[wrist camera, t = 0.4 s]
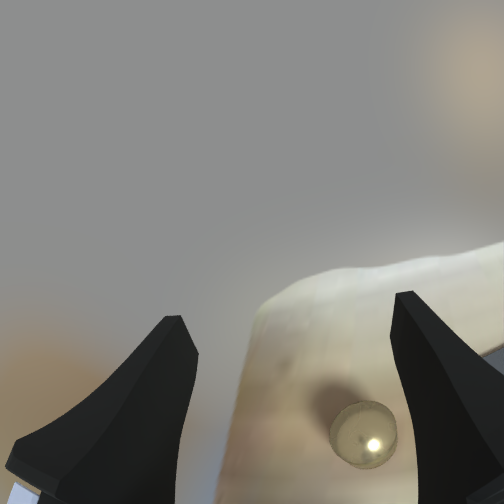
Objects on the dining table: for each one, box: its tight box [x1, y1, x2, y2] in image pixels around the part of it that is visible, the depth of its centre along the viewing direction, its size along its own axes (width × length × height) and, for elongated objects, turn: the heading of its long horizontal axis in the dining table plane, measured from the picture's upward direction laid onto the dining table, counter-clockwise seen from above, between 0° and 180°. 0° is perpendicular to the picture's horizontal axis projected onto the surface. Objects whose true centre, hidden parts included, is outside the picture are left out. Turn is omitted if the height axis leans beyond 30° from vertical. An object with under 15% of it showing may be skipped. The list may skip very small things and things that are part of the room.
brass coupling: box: [330, 401, 398, 469], centre depth 20 cm, size 5×5×5 cm
